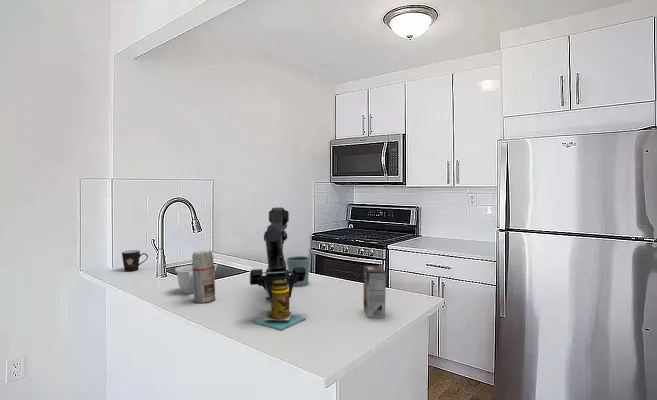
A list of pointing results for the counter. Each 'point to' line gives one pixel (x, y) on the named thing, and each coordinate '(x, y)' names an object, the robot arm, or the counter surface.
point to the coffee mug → (132, 260)
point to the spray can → (203, 276)
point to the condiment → (279, 301)
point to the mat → (280, 322)
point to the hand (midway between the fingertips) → (280, 297)
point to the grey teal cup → (299, 262)
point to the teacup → (185, 278)
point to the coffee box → (374, 291)
